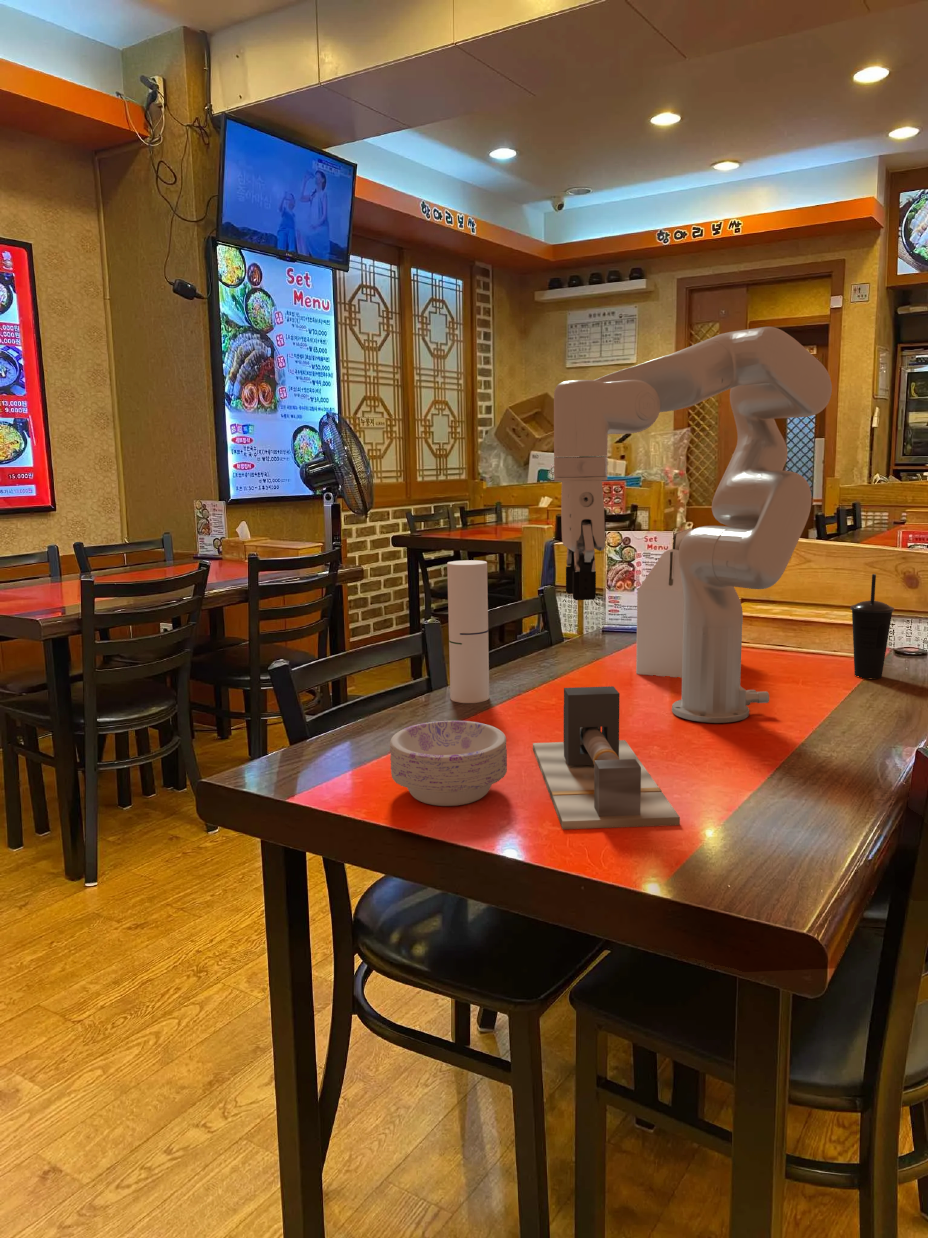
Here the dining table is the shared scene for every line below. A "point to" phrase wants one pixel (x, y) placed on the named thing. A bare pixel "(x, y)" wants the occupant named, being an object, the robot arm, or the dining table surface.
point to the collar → (589, 719)
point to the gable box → (661, 616)
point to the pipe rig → (602, 786)
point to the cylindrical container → (468, 631)
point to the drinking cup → (870, 635)
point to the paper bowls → (448, 761)
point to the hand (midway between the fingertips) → (580, 595)
